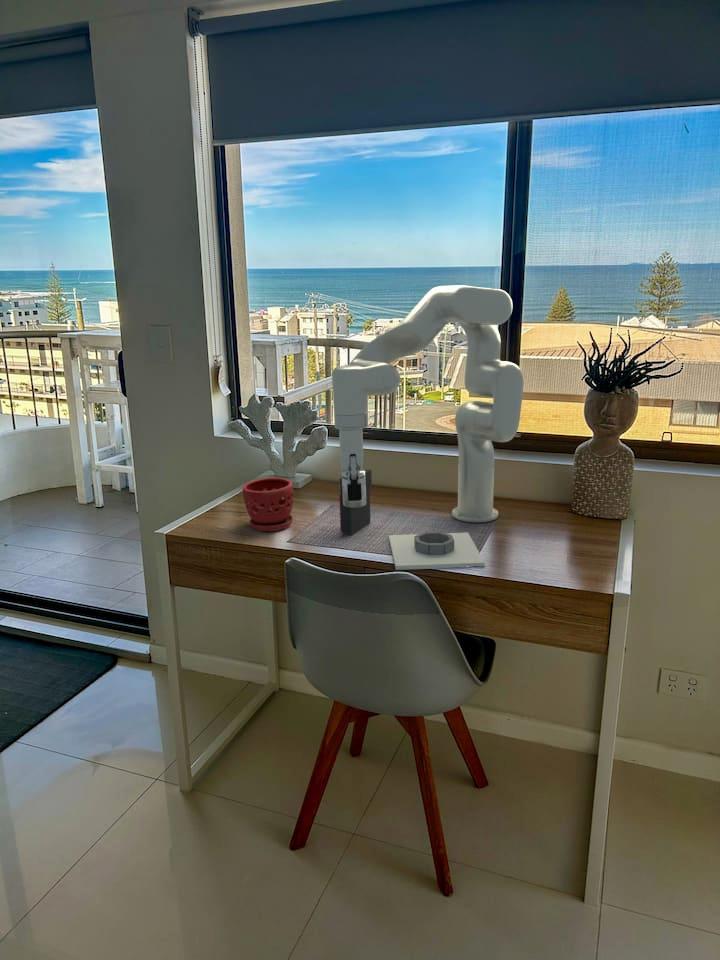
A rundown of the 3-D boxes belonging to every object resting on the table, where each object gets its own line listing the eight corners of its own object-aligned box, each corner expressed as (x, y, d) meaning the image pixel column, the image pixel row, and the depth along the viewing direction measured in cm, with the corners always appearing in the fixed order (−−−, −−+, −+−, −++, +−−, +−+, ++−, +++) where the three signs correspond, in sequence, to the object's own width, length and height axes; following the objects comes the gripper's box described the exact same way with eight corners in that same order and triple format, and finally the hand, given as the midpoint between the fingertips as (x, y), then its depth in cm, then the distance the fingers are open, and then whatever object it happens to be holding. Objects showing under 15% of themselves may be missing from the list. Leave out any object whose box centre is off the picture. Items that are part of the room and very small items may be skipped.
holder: (388, 539, 172) (388, 525, 171) (467, 536, 172) (468, 523, 172) (395, 569, 153) (395, 555, 152) (484, 566, 153) (485, 552, 152)
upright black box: (358, 521, 186) (357, 467, 182) (372, 523, 184) (371, 469, 180) (338, 533, 177) (337, 477, 173) (353, 536, 175) (351, 479, 171)
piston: (342, 500, 164) (341, 468, 162) (366, 499, 164) (364, 467, 162) (343, 508, 158) (341, 475, 156) (367, 507, 159) (365, 473, 156)
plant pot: (264, 516, 192) (262, 475, 189) (304, 522, 186) (302, 480, 183) (235, 530, 181) (232, 487, 178) (276, 537, 175) (273, 492, 172)
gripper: (334, 414, 164) (338, 486, 169) (334, 429, 147) (338, 508, 152) (365, 412, 164) (368, 485, 169) (369, 427, 147) (372, 506, 152)
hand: (354, 495), depth 161 cm, fingers closed on piston, 5 cm apart
